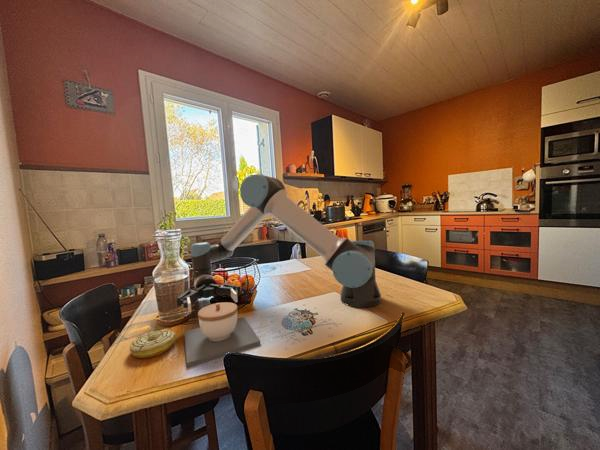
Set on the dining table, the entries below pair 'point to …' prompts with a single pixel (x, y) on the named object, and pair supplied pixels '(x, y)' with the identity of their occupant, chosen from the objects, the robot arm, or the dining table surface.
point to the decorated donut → (152, 343)
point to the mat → (218, 343)
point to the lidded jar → (218, 320)
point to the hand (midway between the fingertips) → (213, 302)
